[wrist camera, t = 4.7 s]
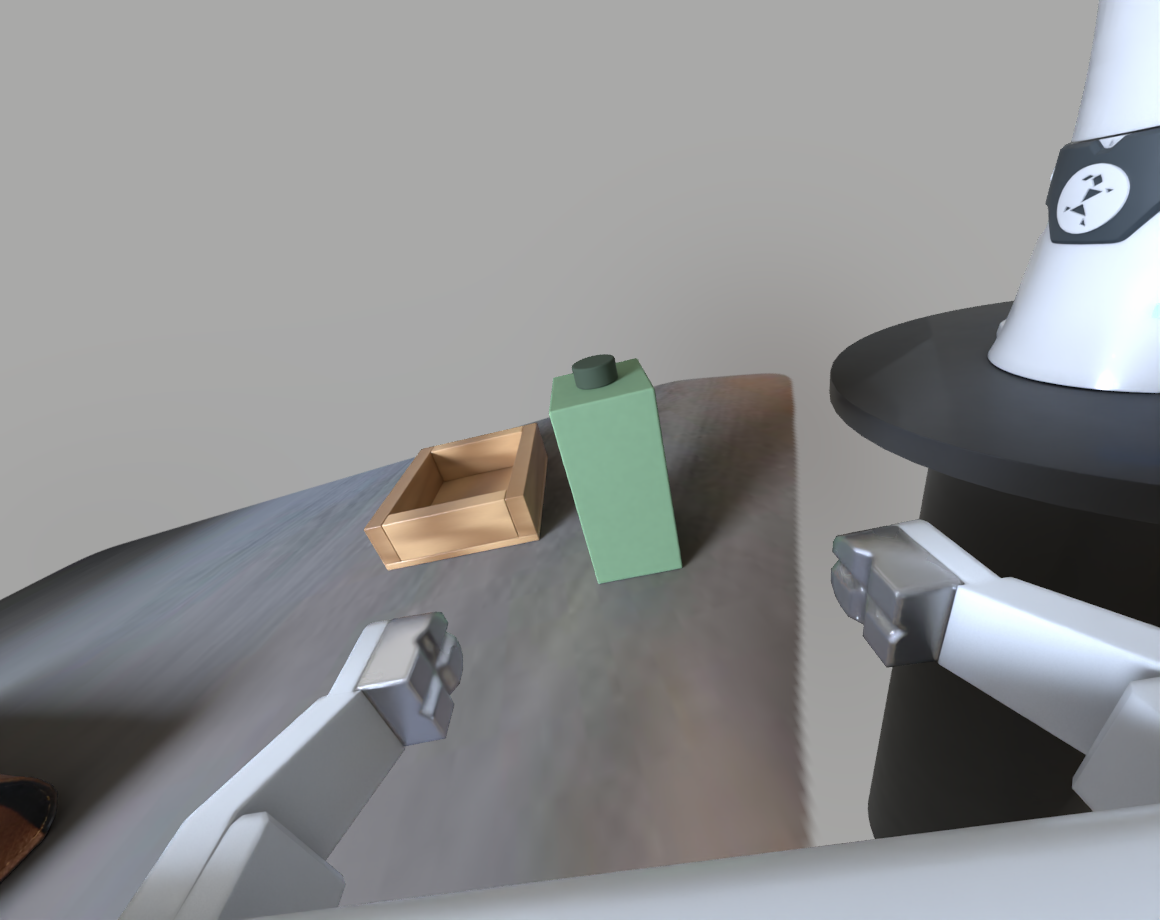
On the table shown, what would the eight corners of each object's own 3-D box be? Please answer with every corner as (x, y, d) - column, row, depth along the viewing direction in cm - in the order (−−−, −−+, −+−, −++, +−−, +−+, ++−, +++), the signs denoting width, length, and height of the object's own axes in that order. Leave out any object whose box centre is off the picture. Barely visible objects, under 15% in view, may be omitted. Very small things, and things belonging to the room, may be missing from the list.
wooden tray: (548, 458, 37) (537, 422, 35) (539, 540, 26) (523, 495, 25) (437, 482, 37) (421, 448, 36) (387, 571, 27) (362, 529, 26)
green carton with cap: (663, 512, 26) (633, 338, 21) (683, 568, 21) (650, 363, 16) (593, 527, 26) (547, 359, 21) (598, 584, 22) (541, 389, 17)
